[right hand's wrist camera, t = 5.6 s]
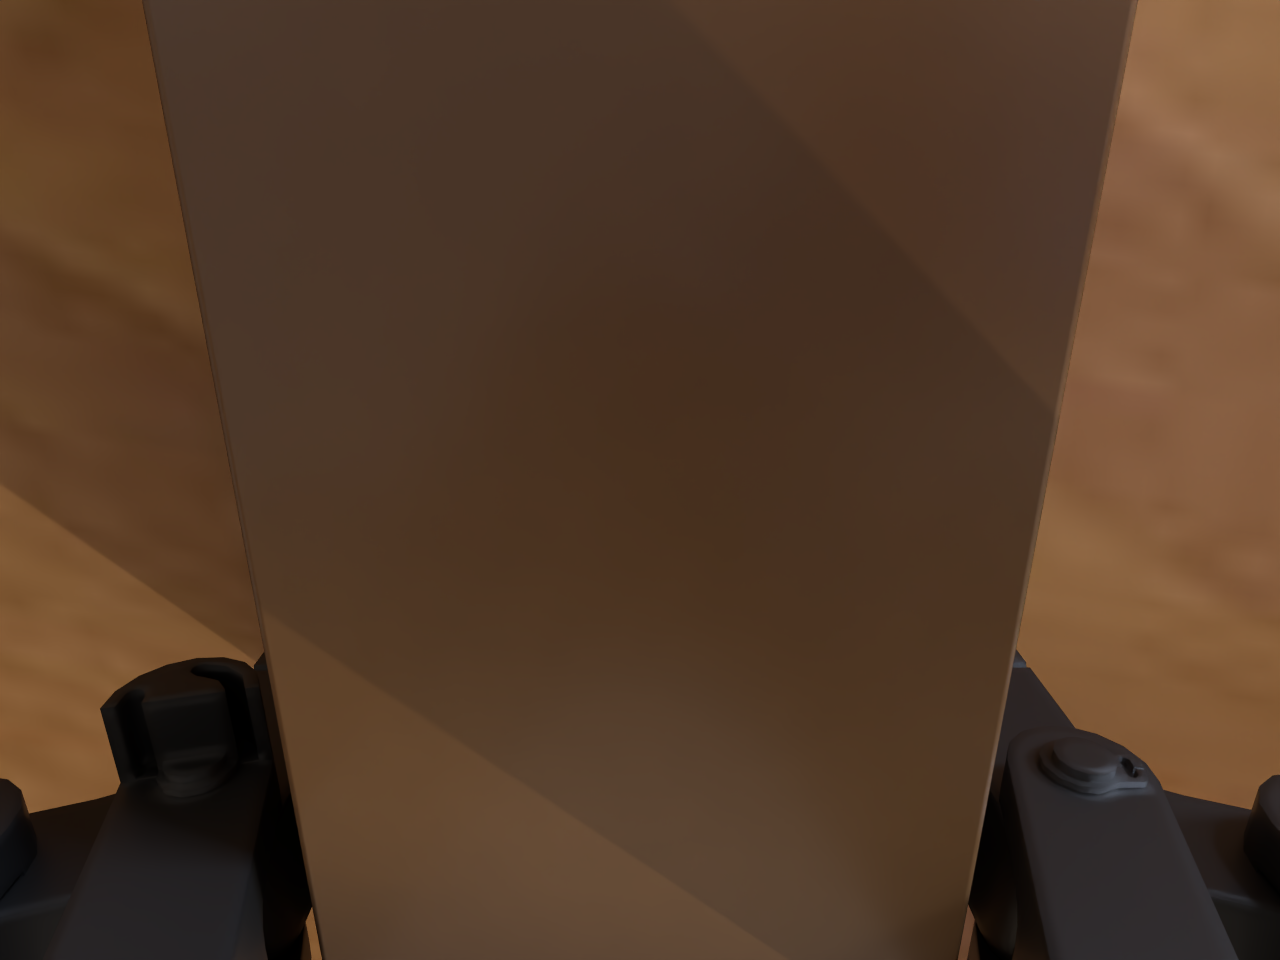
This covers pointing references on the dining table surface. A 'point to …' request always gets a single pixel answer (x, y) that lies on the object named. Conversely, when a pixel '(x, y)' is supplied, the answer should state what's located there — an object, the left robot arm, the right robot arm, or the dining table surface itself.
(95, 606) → the dining table surface
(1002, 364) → the post
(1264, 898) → the right robot arm
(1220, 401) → the dining table surface
